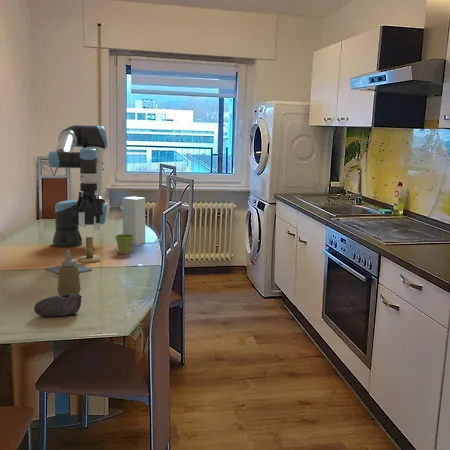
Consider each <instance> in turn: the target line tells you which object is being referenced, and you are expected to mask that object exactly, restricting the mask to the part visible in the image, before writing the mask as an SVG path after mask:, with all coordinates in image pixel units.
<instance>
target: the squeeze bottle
mask: <svg viewBox="0 0 450 450" xmlns="http://www.w3.org/2000/svg"><path fill="white" fill-rule="evenodd" d="M75 263H76V260H75V259H74V258H73V257H72V253H71V250H70V249H67V250H66V252H65V257H64V259H62V260H61V265H62V266H61V265H60V266H61V267H60V268H59V275H58V281H57V293H58V296H59V295H67V294H80V291H81V282H80V273H79V272H78V267H77V266H76V265H75Z"/></svg>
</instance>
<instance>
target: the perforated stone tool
mask: <svg viewBox="0 0 450 450" xmlns="http://www.w3.org/2000/svg"><path fill="white" fill-rule="evenodd" d="M81 306H82V295H81V294H80V293H79V294H67V295H59V294H58V295H54V296H49V297H46V298H43V299H41V300H39V301H37V302H36V303H35V304H34V308H33V311H34V313H35V314H37V316H39V317H44V318H47V317H53V318H54V317H56V318H57V317H65V316H69V315H72V316H73V315H76V314H77V313H78V311H79V310H80V308H81Z"/></svg>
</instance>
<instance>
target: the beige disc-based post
mask: <svg viewBox="0 0 450 450" xmlns="http://www.w3.org/2000/svg"><path fill="white" fill-rule="evenodd" d="M101 259H102V256H100V255H95V254H94V236H93V235H91V236H90V235H89V236H85V255H81V256H79V257H78V261H79V262H81V263H84V262H85V263H87V264H89V263H97V262H100V261H101Z"/></svg>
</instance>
